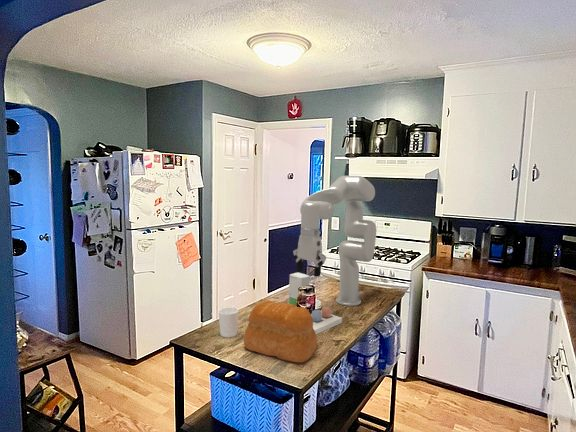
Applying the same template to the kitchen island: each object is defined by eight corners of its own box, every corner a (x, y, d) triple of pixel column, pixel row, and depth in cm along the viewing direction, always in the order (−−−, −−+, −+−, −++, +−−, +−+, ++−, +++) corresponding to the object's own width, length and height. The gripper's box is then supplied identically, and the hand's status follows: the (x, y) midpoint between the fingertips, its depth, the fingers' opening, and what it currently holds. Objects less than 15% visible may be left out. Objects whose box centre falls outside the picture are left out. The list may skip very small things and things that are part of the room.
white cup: (230, 328, 163) (230, 305, 162) (242, 334, 157) (242, 310, 156) (215, 334, 157) (214, 310, 156) (226, 340, 152) (226, 315, 151)
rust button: (325, 314, 171) (325, 305, 171) (332, 317, 168) (332, 308, 168) (319, 316, 168) (319, 308, 168) (326, 319, 165) (327, 310, 165)
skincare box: (288, 305, 192) (288, 274, 190) (296, 301, 197) (297, 271, 195) (300, 309, 186) (301, 277, 184) (309, 305, 191) (310, 275, 189)
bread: (302, 367, 132) (303, 318, 130) (239, 349, 144) (239, 305, 142) (321, 349, 146) (322, 304, 143) (262, 334, 158) (262, 293, 156)
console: (320, 318, 175) (320, 310, 175) (342, 325, 167) (342, 318, 166) (289, 330, 161) (289, 322, 161) (311, 340, 153) (311, 331, 152)
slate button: (315, 318, 166) (316, 309, 166) (323, 321, 164) (323, 312, 163) (309, 321, 164) (309, 311, 163) (316, 323, 161) (317, 314, 160)
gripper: (332, 234, 155) (330, 276, 156) (300, 229, 167) (299, 268, 168) (320, 235, 149) (318, 279, 151) (288, 230, 161) (287, 271, 163)
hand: (308, 273), depth 160 cm, fingers open, 9 cm apart
